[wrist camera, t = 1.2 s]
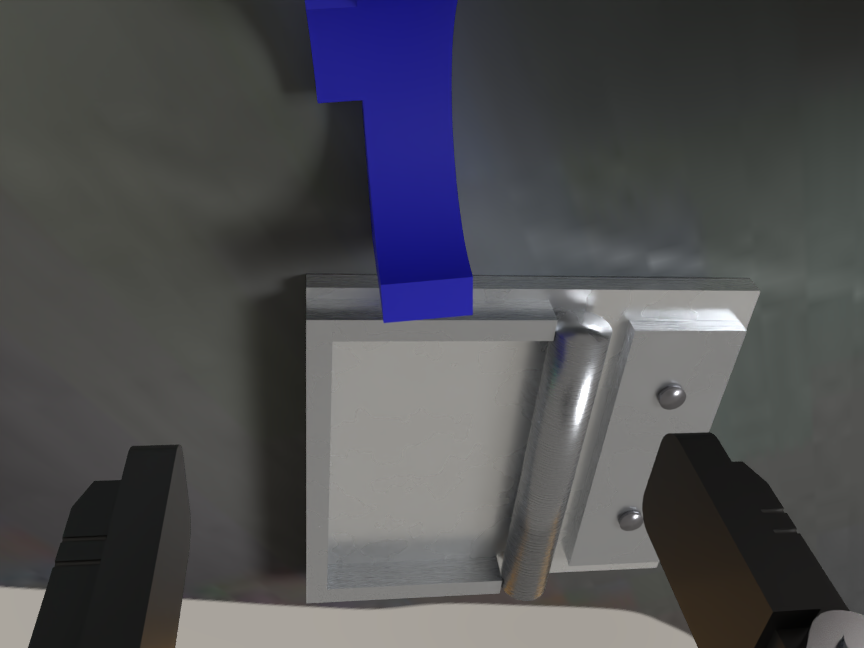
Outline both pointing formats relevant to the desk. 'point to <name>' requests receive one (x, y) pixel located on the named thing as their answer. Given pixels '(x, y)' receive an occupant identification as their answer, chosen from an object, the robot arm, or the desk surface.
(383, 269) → the blue stepped long block
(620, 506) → the hinge plate
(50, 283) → the desk surface
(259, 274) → the desk surface
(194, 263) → the desk surface
